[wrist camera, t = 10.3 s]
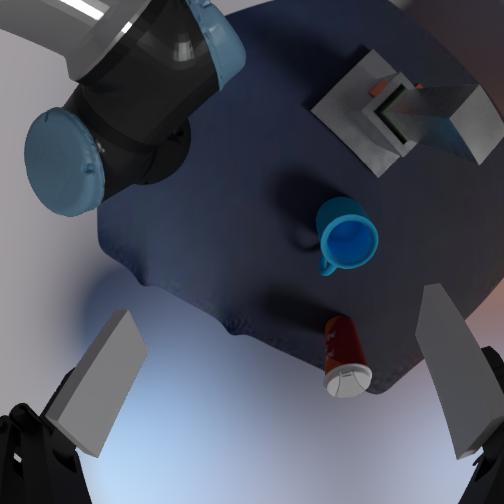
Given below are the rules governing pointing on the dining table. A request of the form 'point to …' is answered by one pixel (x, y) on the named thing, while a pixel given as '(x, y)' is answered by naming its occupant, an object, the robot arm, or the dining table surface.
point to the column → (445, 119)
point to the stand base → (365, 112)
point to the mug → (344, 235)
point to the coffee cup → (344, 359)
